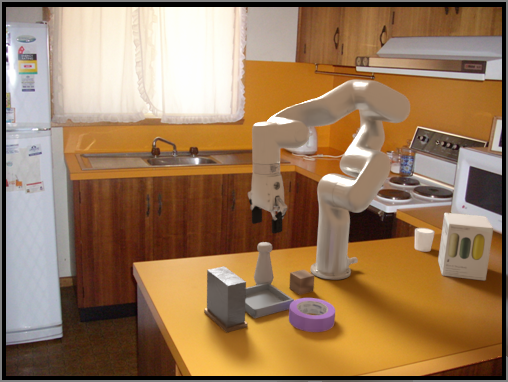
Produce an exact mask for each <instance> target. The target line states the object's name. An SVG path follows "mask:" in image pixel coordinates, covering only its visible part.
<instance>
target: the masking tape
mask: <svg viewBox="0 0 508 382" xmlns="http://www.w3.org/2000/svg"><path fill="white" fill-rule="evenodd" d="M288 311H289V312H288V321H289V323H290V324H291V325H292V327H294V328H295V329H298V330H301V331H305V332H309V333H320V332H327V331H328V330H331V329H332V328H333V327H334V325H335V317H336V308H335V307H334V305H333V304H332V303H330V302H328V301H327V300H323V299H321V298H313V297H303V298H301V297H300V298H297V299H294V301H293V302H292V303H291V304H290V308H289V309H288Z"/></svg>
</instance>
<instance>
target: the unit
mask: <svg viewBox="0 0 508 382" xmlns="http://www.w3.org/2000/svg"><path fill="white" fill-rule="evenodd" d="M206 274H207V275H206V285H207V286H206V308H204V309H203V311H204V313H205V314H206V315H207V316H208V317H209V318H210V319H211V320H213V322H214V323H216V325H217V326H218V327H220V328H221V329H222V330H223V331H224V332H225V333H230V332H234V331H237V330H241V329H244V328H247V327H248V324H249V323H248V322H247V320H246V311H245V300H246V288H247V281H246V280H244V279H243V278H241V277H240V276H239V275H237V274H236V273H235V272H233V271H232V270H230V269H229V268H227V267H226V266H220V267H215V268H209V269H206Z"/></svg>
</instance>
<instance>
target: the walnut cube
mask: <svg viewBox="0 0 508 382" xmlns="http://www.w3.org/2000/svg"><path fill="white" fill-rule="evenodd" d="M314 286H315V275H314V274H313V273H312V272H309V271H307V270H306V269H301V270H296V271H291V272H289V289H290V290H291V291H293V292H294V293H296V294H297V295H299V296H300V295H304V294H308V293H312V292H314V289H315V287H314Z"/></svg>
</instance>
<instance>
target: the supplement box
mask: <svg viewBox="0 0 508 382" xmlns="http://www.w3.org/2000/svg"><path fill="white" fill-rule="evenodd" d="M441 229H442V230H441V234H440V235H441V237H440V242H439V243H440V244H439V251H438V258H437V259H438V260H437V262H438V265H439V268H440V273H441V275H442V276H443V277H444V276H445V277H450V278H458V279H459V278H460V279H461V278H462V279H468V280H477V281H487V273H488V268H489V267H488V266H489V260H490V253H491V245H492V241H493V233H494V227H493V225H492V224H491V222H490V221H489V219H488V217H487V216H486V215H477V214H475V215H474V214H473V215H472V214H466V213H453V212H451V213H450V212H444V214H443V221H442V227H441Z"/></svg>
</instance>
